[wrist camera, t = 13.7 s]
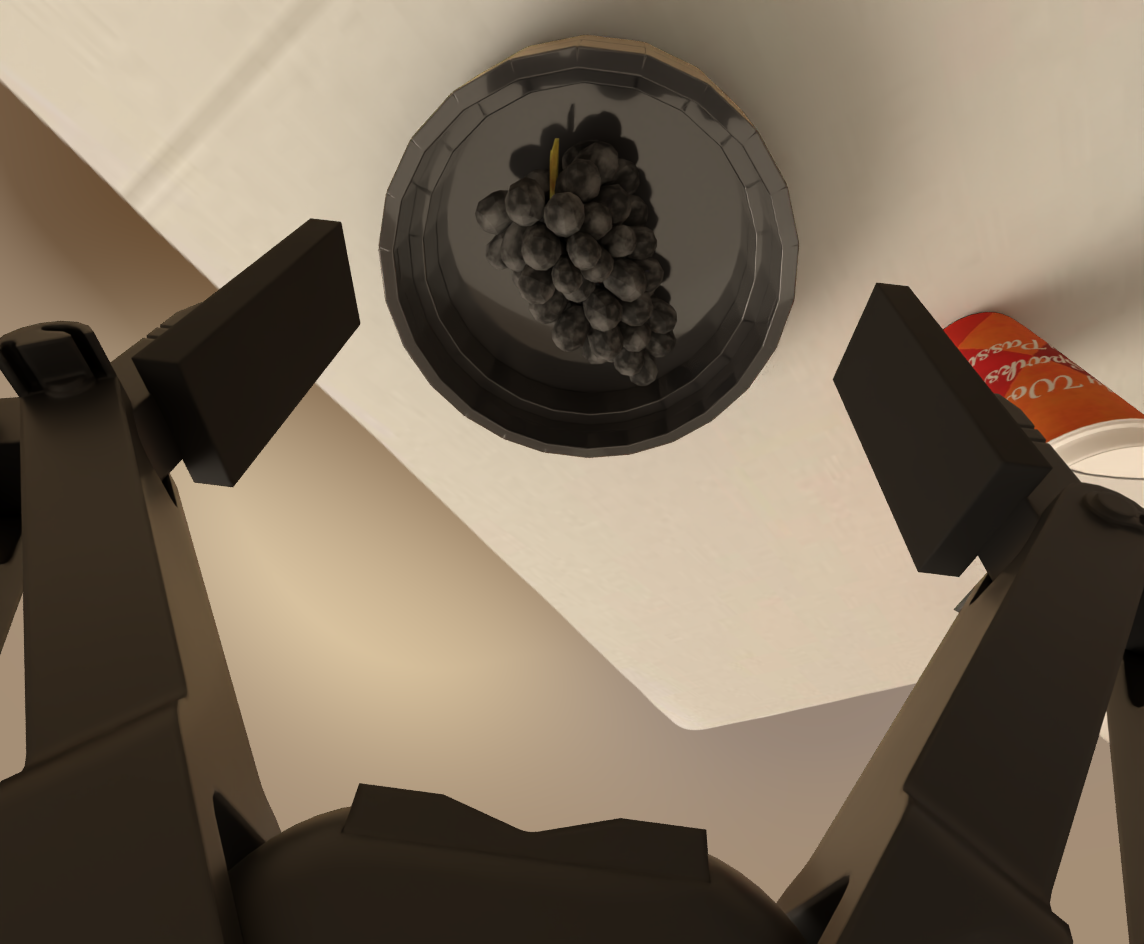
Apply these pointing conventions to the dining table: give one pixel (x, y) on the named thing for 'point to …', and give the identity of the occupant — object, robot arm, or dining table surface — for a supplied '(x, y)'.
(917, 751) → the robot arm
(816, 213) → the dining table surface
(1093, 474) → the paper cup
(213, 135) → the dining table surface
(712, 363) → the bowl
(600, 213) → the fruit
